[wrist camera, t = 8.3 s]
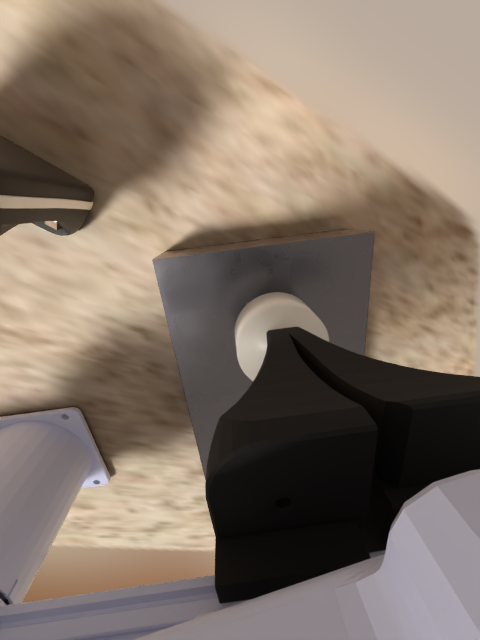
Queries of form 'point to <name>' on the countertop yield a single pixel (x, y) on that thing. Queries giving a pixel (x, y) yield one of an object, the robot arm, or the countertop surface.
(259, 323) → the knob
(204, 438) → the mount plate
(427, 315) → the countertop surface
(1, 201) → the battery charger
